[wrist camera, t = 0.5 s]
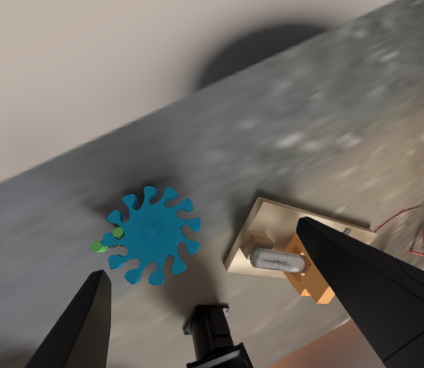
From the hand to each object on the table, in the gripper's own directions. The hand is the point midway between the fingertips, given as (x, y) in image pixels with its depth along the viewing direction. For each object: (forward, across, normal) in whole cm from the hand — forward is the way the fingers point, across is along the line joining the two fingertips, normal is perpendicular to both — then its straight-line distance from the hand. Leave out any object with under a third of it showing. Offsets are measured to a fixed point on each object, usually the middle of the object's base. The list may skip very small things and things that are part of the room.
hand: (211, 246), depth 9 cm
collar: (+10, -14, +18) cm, 25 cm away
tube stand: (+11, -18, +21) cm, 30 cm away
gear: (+14, +4, +9) cm, 17 cm away
